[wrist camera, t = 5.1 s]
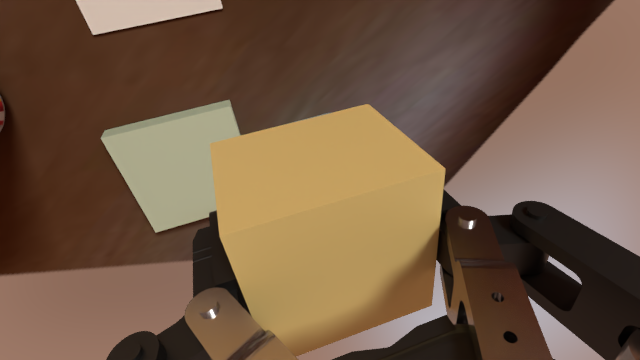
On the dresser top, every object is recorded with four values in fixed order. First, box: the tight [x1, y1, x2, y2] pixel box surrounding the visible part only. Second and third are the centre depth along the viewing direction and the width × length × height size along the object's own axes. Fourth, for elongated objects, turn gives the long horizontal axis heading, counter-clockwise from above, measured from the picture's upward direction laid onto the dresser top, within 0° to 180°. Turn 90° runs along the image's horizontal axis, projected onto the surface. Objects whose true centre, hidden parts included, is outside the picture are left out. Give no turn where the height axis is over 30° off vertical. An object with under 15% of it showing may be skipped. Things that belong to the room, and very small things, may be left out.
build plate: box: [101, 100, 241, 232], centre depth 31 cm, size 10×10×2 cm
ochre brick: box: [210, 104, 445, 357], centre depth 12 cm, size 6×6×5 cm
